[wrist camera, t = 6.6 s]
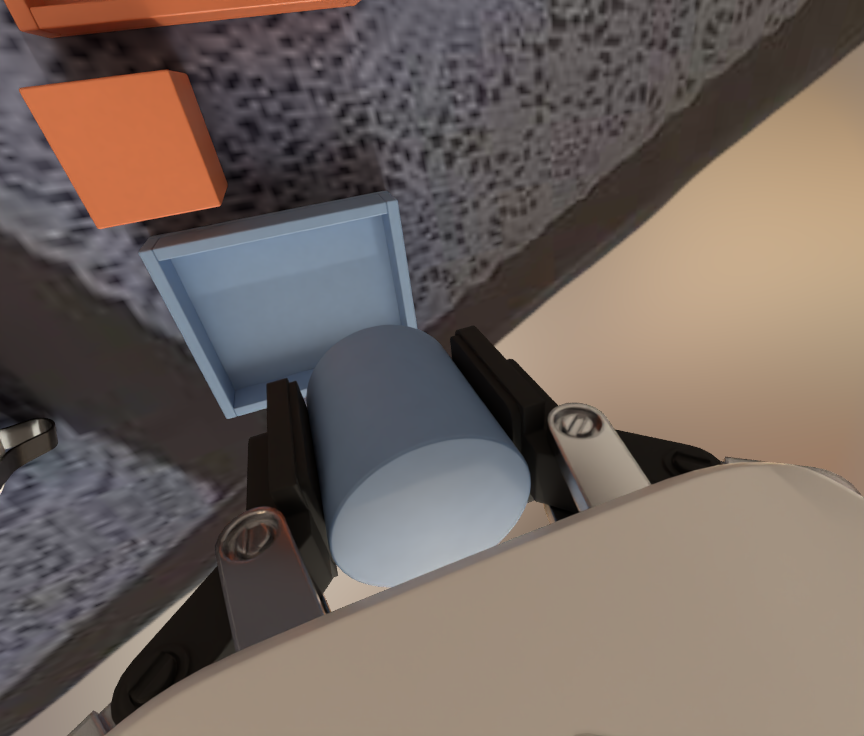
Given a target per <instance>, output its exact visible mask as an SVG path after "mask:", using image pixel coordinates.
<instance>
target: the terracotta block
mask: <svg viewBox="0 0 864 736" xmlns="http://www.w3.org/2000/svg"><path fill="white" fill-rule="evenodd" d="M19 92H20V93H21V95H22V97H23V99H24V100H25V102H26V104H27V106H28V107H29V109H30V111H31V113H32V114H33V116H34V118H35V120H36V121H37V123H38V125H39V127H40V128H41V130H42V132H43V134H44V135H45V137H46V139H47V141H48V142H49V144H50V146H51V148H52V149H53V151H54V153H55V155H56V156H57V158H58V160H59V162H60V163H61V165H62V167H63V169H64V170H65V172H66V174H67V176H68V177H69V179H70V181H71V183H72V184H73V186H74V188H75V190H76V191H77V193H78V195H79V197H80V198H81V200H82V202H83V204H84V206H85V207H86V209H87V211H88V213H89V214H90V216H91V218H92V220H93V221H94V223H95V225H96V227H97V228H98V229H103V228H108V227H113V226H119V225H124V224H129V223H134V222H140V221H145V220H150V219H155V218H161V217H166V216H171V215H177V214H182V213H187V212H192V211H198V210H203V209H208V208H213V207H219V206H221V203H222V200H223V198H224V195H225V192H226V189H227V186H228V184H227V181H226V178H225V176H224V173H223V170H222V167H221V165H220V162H219V159H218V157H217V154H216V151H215V148H214V146H213V143H212V140H211V138H210V135H209V132H208V130H207V127H206V124H205V121H204V119H203V116H202V113H201V111H200V108H199V105H198V103H197V100H196V97H195V94H194V92H193V89H192V86H191V84H190V81H189V78H188V76H187V74H186V73H181V72H176V71H171V70H159V71H151V72H143V73H135V74H127V75H119V76H111V77H103V78H95V79H87V80H79V81H71V82H63V83H55V84H47V85H40V86H32V87H24V88H19Z"/></svg>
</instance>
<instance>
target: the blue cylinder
mask: <svg viewBox="0 0 864 736" xmlns="http://www.w3.org/2000/svg"><path fill="white" fill-rule="evenodd" d="M306 401H307V410H308V416H309V422H310V429H311V435H312V442H313V448H314V454H315V461H316V467H317V474H318V480H319V487H320V493H321V500H322V506H323V513H324V520H325V526H326V532H327V539H328V545H329V550H330V553H331V556H332V558H333V560H334V561H335V563H336V565H337V566H338V567H339V568H340V569H341V570H342V571H343V572H344V573H345V574H347V575H348V576H349V577H351V578H353V579H355V580H357V581H359V582H362V583H365V584H368V585H373V586H378V587H394V586H397V585H399V584H401V583H404V582H406V581H409V580H411V579H414V578H416V577H419V576H421V575H424V574H426V573H429V572H431V571H434V570H436V569H439V568H441V567H444V566H446V565H449V564H451V563H454V562H456V561H459V560H461V559H464V558H466V557H469V556H471V555H474V554H476V553H479V552H481V551H484V550H486V549H489V548H491V547H494V546H496V545H497V544H498V543H499V542H500V541H501V540H502V539H503V538H504V537H505V536H506V535H507V534H508V533H509V532H510V530H511V529H512V528H513V527H514V526H515V524H516V523H517V521H518V520H519V518H520V516H521V515H522V513H523V511H524V509H525V506H526V504H527V502H528V498H529V494H530V488H531V478H530V472H529V468H528V465H527V463H526V461H525V459H524V457H523V456H522V454H521V453H520V452H519V450H518V449H517V448H516V446H515V445H514V444H513V442H512V441H511V439H510V438H509V437H508V435H507V434H506V433H505V431H504V430H503V429H502V427H501V426H500V424H499V423H498V422H497V420H496V419H495V418H494V416H493V415H492V414H491V412H490V411H489V409H488V408H487V407H486V405H485V404H484V403H483V401H482V400H481V399H480V397H479V396H478V394H477V393H476V392H475V390H474V389H473V388H472V386H471V385H470V384H469V382H468V381H467V379H466V378H465V377H464V375H463V374H462V373H461V371H460V370H459V369H458V367H457V366H456V364H455V363H454V362H453V360H452V359H451V358H450V356H449V355H448V354H447V352H446V351H445V350H444V348H443V347H442V346H441V344H440V343H439V342H437V341H436V340H435V339H434V338H433V337H431V336H430V335H428V334H427V333H425V332H423V331H420V330H418V329H415V328H412V327H408V326H402V325H380V326H374V327H369V328H366V329H363V330H360V331H357V332H355V333H353V334H351V335H349V336H347V337H345V338H344V339H342V340H340V341H339V342H338V343H336V344H335V345H334V346H333V347H331V348H330V349H329V350H328V351H327V352H326V353H325V354H324V355H323V357H322V358H321V359H320V361H319V362H318V363H317V365H316V366H315V368H314V370H313V372H312V374H311V377H310V379H309V382H308V387H307V394H306Z"/></svg>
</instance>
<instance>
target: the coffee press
mask: <svg viewBox="0 0 864 736" xmlns="http://www.w3.org/2000/svg"><path fill="white" fill-rule="evenodd" d="M57 444H58V439H57V433H56V427H55V422H54V421H53V420H51V419H47V418H35V419H30V420H27V421H24V422H21V423H18V424H15V425H12V426H9V427H6V428H2V429H0V494H1V492H2V490H3V487H4V485H5V482H6V481H7V480H8V478H9V477H10V476H11V474H12V473H13V472H14V471H15V470H17V469H18V468H19V467H21V466H22V465H24V464H26V463H27V462H29V461H31V460H33V459H35V458H37V457H39V456H41V455H43V454H45V453H47V452H48V451H50V450H52V449H54V448H55V447H56V446H57ZM14 446H15V447H14ZM11 447H13V448H12V449H10V450H9V451H8V452H6V453H5V449H8V448H11Z"/></svg>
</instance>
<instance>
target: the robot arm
mask: <svg viewBox="0 0 864 736" xmlns="http://www.w3.org/2000/svg"><path fill="white" fill-rule="evenodd" d="M450 343H451V352H452V360H453V362H454V363H455V364H456V366H457V367H458V369H459V370H460V371H461V373H462V374H463V375H464V377H465V378H466V379H467V381H468V382H469V384H470V385H471V386H472V388H473V389H474V390H475V392H476V393H477V394H478V396H479V397H480V399H481V400H482V401H483V403H484V404H485V405H486V407H487V408H488V409H489V411H490V412H491V414H492V415H493V416H494V418H495V419H496V420H497V422H498V423H499V424H500V426H501V427H502V429H503V430H504V431H505V433H506V434H507V435H508V437H509V438H510V439H511V441H512V442H513V444H514V445H515V446H516V448H517V449H518V450H519V452H520V453H521V454H522V456H523V457H524V459H525V461H526V463H527V465H528V468H529V472H530V478H531V488H530V494H529V498H528V502H527V503H529V502H532V501H534V500H535V501H536V502H540V503H543V505H544V509H545V512H546V514H547V517H548V519H549V522H550V524H549V525H547V526H544V527H541V528H539V529H536V530H534V531H531V532H529V533H526V534H524V535H521V536H519V537H516V538H514V539H512V540H509V541H506V542H504V543H501V544H499V545H496V546H494V547H491V548H489V549H486V550H484V551H481V552H479V553H476V554H474V555H471V556H469V557H466V558H464V559H461V560H459V561H456V562H454V563H451V564H449V565H446V566H444V567H441V568H439V569H436V570H434V571H431V572H429V573H426V574H424V575H421V576H419V577H416V578H414V579H411V580H409V581H406V582H404V583H401V584H399V585H397V586H394V587H392V588H389V589H387V590H384V591H382V592H379V593H377V594H374V595H372V596H369V597H367V598H365V599H362V600H360V601H357V602H355V603H352V604H350V605H347V606H345V607H342V608H340V609H337V610H335V611H333V612H331V610H330V608H329V605H328V603H327V600H326V598H325V596H324V594H323V593H324V591H325V589H326V588H327V587H328V585H329V584H330V582H331V581H332V579H333V578H334V577H336V576H338V572H337V566H336V563H335V561H334V560H333V558H332V556H331V553H330V550H329V545H328V539H327V532H326V526H325V520H324V513H323V506H322V500H321V493H320V487H319V480H318V474H317V467H316V461H315V454H314V448H313V442H312V435H311V429H310V422H309V416H308V410H307V407H306V404H305V402H304V399H303V396H302V394H301V391H300V388H299V386H298V383H297V381H293V382H289V380H288V378H284V379H281V380H277V381H274V382H270V383H267V384H266V394H267V432H266V433H263V434H260V435H257V436H253V437H250V439H249V443H248V472H247V505H246V511H245V512H243V513H241V514H240V515H238V516H237V517H235V518H234V519H233V520H232V521H230V522H229V523H228V524H227V525H226V526H225V528H224V529H223V530H222V532H221V533H220V535H219V537H218V539H217V542H216V545H215V556H216V561H217V567H216V568H215V569H214V570H213V571H212V573H211V574H210V575H209V576H208V577H207V578H206V579H205V580H204V582H203V583H202V584H201V585H200V586H199V587H198V588H197V589H196V590H195V592H194V593H193V594H192V595H191V596H190V598H188V599H187V601H186V602H185V603H184V604H183V605H182V606H181V607H180V608H179V610H178V611H177V612H176V613H175V614H174V615H173V616H172V617H171V619H170V620H169V621H168V622H167V623H166V624H165V625H164V626H163V627H162V629H161V630H160V631H159V632H158V633H157V634H156V635H155V636H154V638H153V639H152V640H151V641H150V642H149V643H148V644H147V645H146V646H145V648H144V649H143V650H142V651H141V652H140V653H139V654H138V655H137V657H136V658H135V659H134V660H133V661H132V662H131V664H130V665H129V666H128V668H127V669H126V671H125V672H124V673H123V674H122V676H121V678H120V680H119V682H118V684H117V686H116V688H115V690H114V693H113V698H112V702H111V703H110V704H109V705H108V706H107V707H106V708H104V710H102V711H101V712H100V713H99V714H98V713H97V712H95V711H92V713H90V714H89V715H88V716H87V717H86V718H85V719H84V720H83V721H82V722H81V723H80V724H79V725H78V726H77V727H76V728H75V729H74V730H73V731H72V732H71V733H70V734H68V736H864V497H862V495H861V494H860V492H859V491H858V490H857V489H856V488H855V487H854V485H852V484H851V483H850V482H849V481H847V480H846V479H844V478H843V477H841V476H839V475H837V474H835V473H832V472H830V471H827V470H824V469H819V468H815V467H808V466H799V465H791V464H783V463H774V462H765V461H757V460H747V459H740V458H731V457H725V458H724V461H723V462H722V461H720V460H718V459H717V458H716V457H714V456H713V455H712V454H710V453H708V452H707V451H705V450H703V449H701V448H697V447H694V446H691V445H686V444H682V443H677V442H672V441H667V440H663V439H658V438H653V437H648V436H643V435H639V434H634V433H629V432H624V431H620V430H615V429H614V428H613V426H612V425H611V423H610V422H609V420H608V419H607V417H606V416H605V415H604V414H603V413H602V412H601V411H600V410H598V409H596V408H595V407H592V406H589V405H587V404H582V403H566V404H562V405H559V406H558V405H557V404H556V403H555V402H554V401H553V400H552V399H551V398H550V397H549V396H548V395H547V393H546V392H545V391H544V390H543V389H542V388H541V387H540V386H539V385H538V384H537V383H536V382H535V381H534V380H533V379H532V378H531V377H530V376H529V375H528V374H527V373H526V372H525V371H524V370H523V369H522V368H521V367H520V366H519V364H518V363H517V362H516V361H514V360H513V359H508V360H506V359H505V358H504V357H503V356H502V354H501V353H500V352H499V351H498V350H497V349H496V348H495V347H494V346H493V345H492V344H491V343H490V342H489V341H488V339H487V338H486V337H485V336H484V335H483V334H482V333H481V332H480V331H479V330H478V329H477V328H476V327H475V326H470V327H467V328H463V329H460V330H456V332H455V336H452V337H451V338H450Z"/></svg>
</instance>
